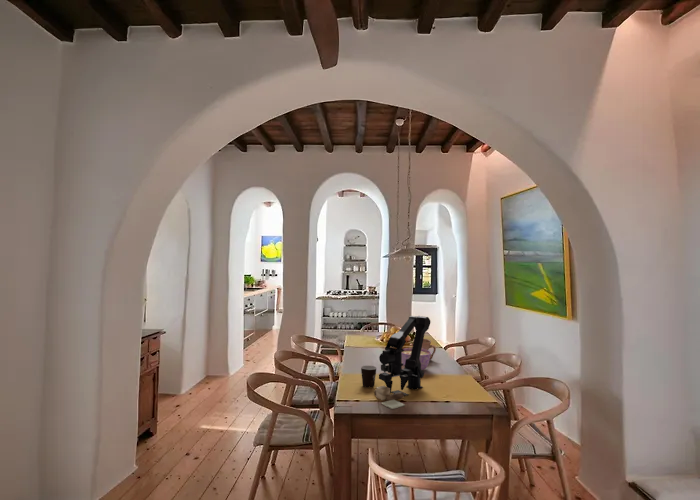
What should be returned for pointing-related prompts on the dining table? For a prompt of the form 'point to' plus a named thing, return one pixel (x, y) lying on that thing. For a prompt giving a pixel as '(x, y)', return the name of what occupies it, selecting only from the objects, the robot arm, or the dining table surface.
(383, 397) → the beech block
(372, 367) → the coffee mug
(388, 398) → the walnut channel
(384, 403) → the sage coaster
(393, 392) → the tile
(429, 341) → the ceramic jug
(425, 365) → the bowl of food
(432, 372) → the dining table surface
